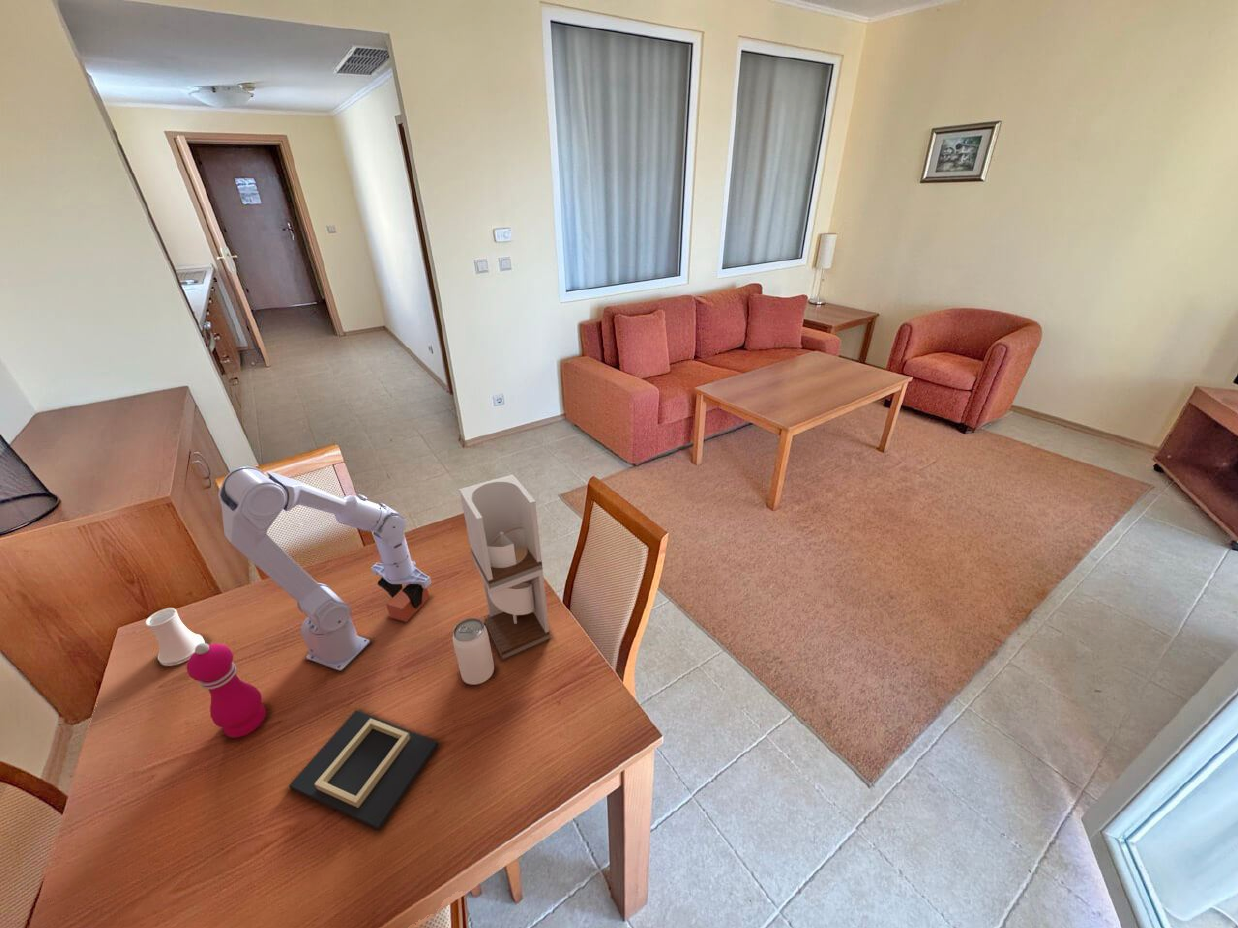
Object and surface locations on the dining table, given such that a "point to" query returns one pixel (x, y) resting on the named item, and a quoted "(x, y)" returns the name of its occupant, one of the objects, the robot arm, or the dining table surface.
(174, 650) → the vase
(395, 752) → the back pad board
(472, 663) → the can
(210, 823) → the dining table surface
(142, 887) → the dining table surface
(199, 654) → the pepper mill
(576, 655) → the dining table surface
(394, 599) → the reddish brown block
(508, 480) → the white tower stand
